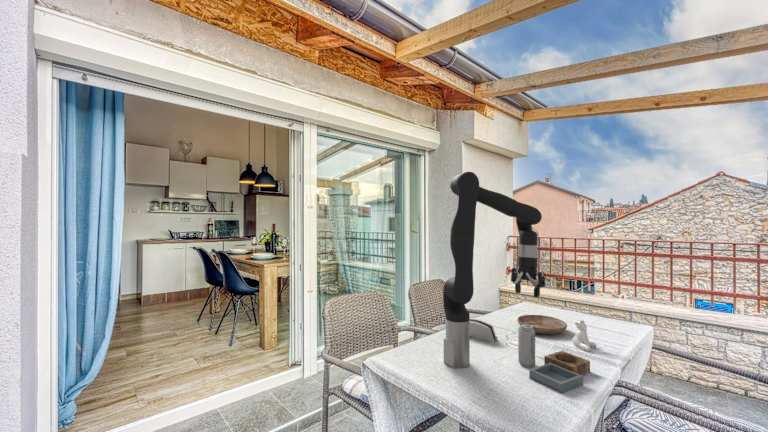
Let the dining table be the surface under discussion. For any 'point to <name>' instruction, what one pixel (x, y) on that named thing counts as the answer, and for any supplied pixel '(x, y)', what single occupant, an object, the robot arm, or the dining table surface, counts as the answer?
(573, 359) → the bore block
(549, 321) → the ceramic bowl
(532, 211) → the robot arm
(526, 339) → the energy drink can
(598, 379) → the dining table surface
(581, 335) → the sitting furry creature
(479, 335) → the grey rounded slab
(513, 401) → the dining table surface
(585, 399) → the dining table surface
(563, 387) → the tray
